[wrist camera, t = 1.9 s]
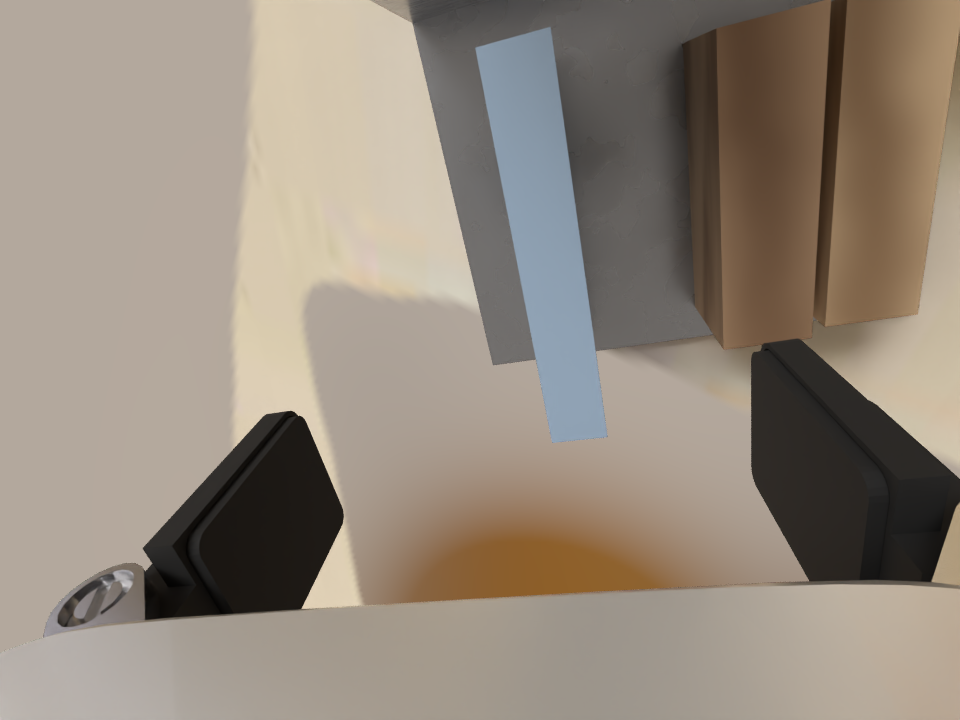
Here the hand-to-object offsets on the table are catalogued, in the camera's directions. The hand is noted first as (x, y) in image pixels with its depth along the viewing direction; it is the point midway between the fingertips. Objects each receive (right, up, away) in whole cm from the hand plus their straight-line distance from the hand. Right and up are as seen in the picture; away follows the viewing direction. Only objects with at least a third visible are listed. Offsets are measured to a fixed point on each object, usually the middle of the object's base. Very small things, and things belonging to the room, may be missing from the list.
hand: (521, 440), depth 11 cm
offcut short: (+17, +12, +16) cm, 26 cm away
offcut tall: (+13, +11, +17) cm, 24 cm away
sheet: (+3, +10, +19) cm, 22 cm away
